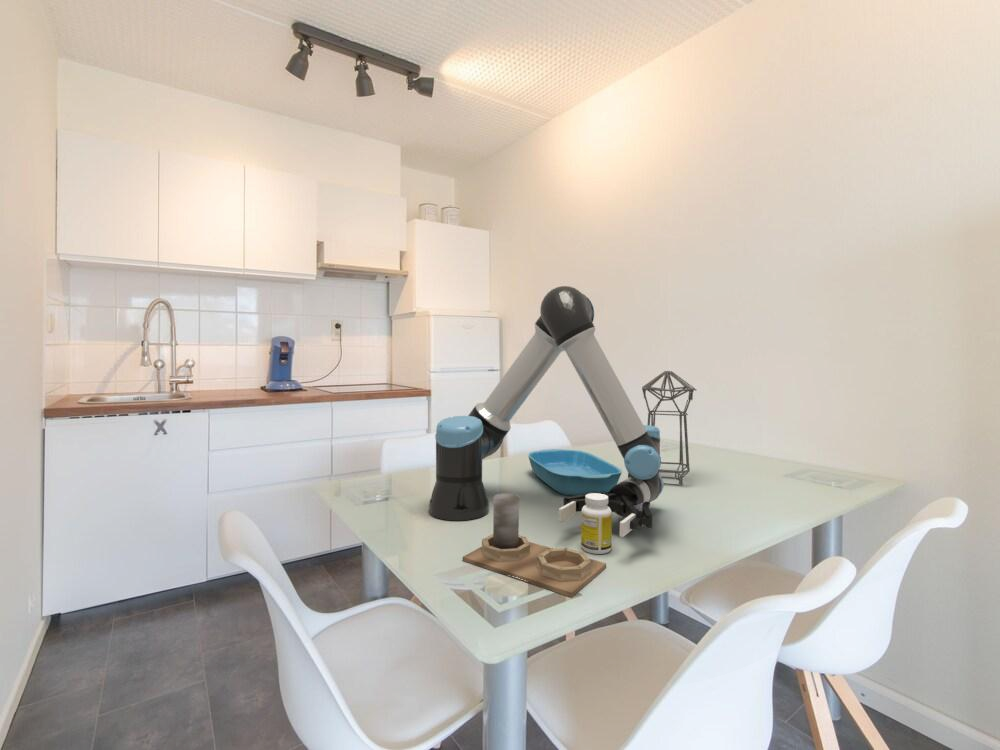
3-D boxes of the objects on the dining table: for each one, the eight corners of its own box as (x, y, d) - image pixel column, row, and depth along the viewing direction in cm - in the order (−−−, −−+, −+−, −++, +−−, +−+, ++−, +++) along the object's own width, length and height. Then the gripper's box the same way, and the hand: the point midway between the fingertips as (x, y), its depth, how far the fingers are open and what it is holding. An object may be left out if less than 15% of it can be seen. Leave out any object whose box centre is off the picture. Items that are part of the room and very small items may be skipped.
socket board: (462, 560, 95) (462, 500, 94) (504, 538, 106) (504, 484, 105) (571, 597, 81) (572, 527, 80) (606, 567, 92) (607, 505, 92)
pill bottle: (607, 542, 104) (608, 491, 104) (614, 554, 98) (616, 500, 97) (578, 542, 104) (579, 491, 103) (584, 555, 98) (585, 500, 97)
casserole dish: (634, 497, 137) (635, 472, 137) (560, 503, 132) (561, 477, 131) (579, 467, 173) (580, 447, 173) (519, 470, 167) (519, 450, 167)
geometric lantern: (640, 485, 149) (641, 371, 148) (641, 474, 164) (642, 370, 163) (696, 489, 144) (697, 371, 144) (691, 477, 159) (692, 370, 159)
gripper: (682, 523, 108) (650, 556, 91) (580, 502, 123) (536, 527, 105) (683, 490, 108) (651, 516, 91) (581, 473, 122) (536, 492, 105)
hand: (589, 522), depth 98 cm, fingers open, 13 cm apart
